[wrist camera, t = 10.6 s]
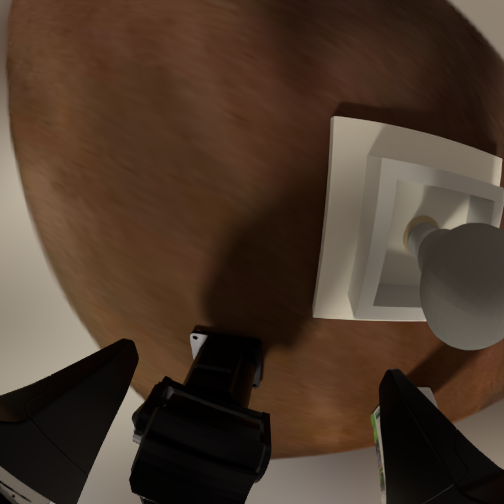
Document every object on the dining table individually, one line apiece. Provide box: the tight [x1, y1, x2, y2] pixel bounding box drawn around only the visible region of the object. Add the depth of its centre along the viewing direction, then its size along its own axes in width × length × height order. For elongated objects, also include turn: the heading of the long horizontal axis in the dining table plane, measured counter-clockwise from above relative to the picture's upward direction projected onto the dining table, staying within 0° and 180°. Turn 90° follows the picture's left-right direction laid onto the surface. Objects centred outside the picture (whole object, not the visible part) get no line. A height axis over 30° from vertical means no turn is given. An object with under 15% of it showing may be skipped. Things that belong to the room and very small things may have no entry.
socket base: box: [312, 116, 504, 321], centre depth 15 cm, size 14×14×4 cm
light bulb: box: [407, 222, 504, 350], centre depth 11 cm, size 6×6×10 cm
